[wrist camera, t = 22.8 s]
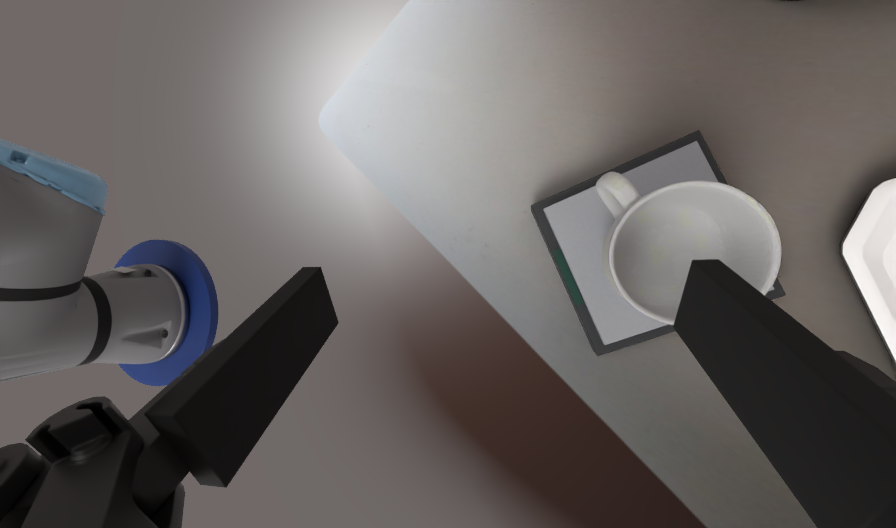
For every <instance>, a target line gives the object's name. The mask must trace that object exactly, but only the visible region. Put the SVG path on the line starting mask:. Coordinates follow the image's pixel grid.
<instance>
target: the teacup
mask: <svg viewBox="0 0 896 528" xmlns="http://www.w3.org/2000/svg"><path fill="white" fill-rule="evenodd" d="M596 190H597V193H598V195H599V196H600V198H601V199H602V201H603V202H604V204H605V205H606V206H607V208H608V209H609V210H610V212H611V213H612V215H613V217H614V218H615V221H614V223H613V224H612V225H611V227H610V229H609V230H608V232H607V234H606V237H605V240H604V243H603V248H602V263H603V268H604V271H605V274H606V277H607V279H608V280H609V282H610V284H611V285H612V287H613V288H614V289H615V291H616V292H617V293H618V294H619V295H620V296H621V297H622V298H623V299H625V300H626V301H627V302H628V303H629V304H630V305H631V306H633V307H634V308H635V309H637V310H638V311H640V312H641V313H643V314H644V315H646V316H648V317H650V318H652V319H654V320H657V321H659V322H662V323H666V324H670V325H674V321H675V318H676V314H677V311H678V307H679V304H680V300H681V297H682V293H683V290H684V286H685V283H686V280H687V276H688V273H689V269H690V266H691V262H692V260H705V259H719V260H720V261H722V262H723V263H724V264H725V265H727V266H728V267H729V268H730V269H732V270H733V271H734V272H735V273H737V274H738V275H739V276H741V277H742V278H743V279H744V280H746V281H747V282H748V283H749V284H751V285H752V286H753V287H754V288H756V289H757V290H758V291H759V292H761V293H762V294H763V295H766V293H767V292H768V291H769V289H770V288H771V287H772V285H773V284H774V281H775V279H776V277H777V274H778V271H779V268H780V264H781V255H782V254H781V241H780V237H779V233H778V230H777V228H776V225H775V223H774V221H773V219H772V218H771V216H770V215H769V214H768V212H767V211H766V210H765V208H764V207H763V206H762V205H761V204H760V203H759V202H758V201H756V200H755V199H754V198H753V197H751V196H748V195H747V194H746V193H744V192H742V191H741V190H739V189H737V188H734V187H732V186H729V185H726V184H723V183H720V182H712V181H704V180H692V181H683V182H677V183H673V184H670V185H667V186H664V187H661V188H659V189H657V190H655V191H653V192H651V193H649V194H647V195H645V196H644V197H641V195H640V194H639V192H638V191H637V189H636V188H635V187H634V185H633V184H632V183H631V182H630V181H629V180H628V179H627V178H625V177H624V176H623V175H621V174H619V173H616V172H608V173H606V174H604V175H603V176H602V177H601V178H600V179H599V180H598V181H597V183H596Z"/></svg>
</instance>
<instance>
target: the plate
mask: <svg viewBox="0 0 896 528" xmlns="http://www.w3.org/2000/svg"><path fill="white" fill-rule="evenodd" d="M840 256H841V258H842V260H843V262H844V264H845V266H846V268H847V270H848V272H849V274H850V276H851V278H852V280H853V282H854V284H855V286H856V288H857V290H858V292H859V294H860V296H861V298H862V300H863V302H864V304H865V306H866V308H867V310H868V312H869V314H870V316H871V318H872V320H873V322H874V324H875V326H876V328H877V330H878V332H879V334H880V336H881V339H882V341H883V343H884V345H885V347H886V349H887V351H888V353H889V355H890V357H891V359H892V361H893V363H894V365H895V367H896V177H895V178H892V179H890V180H887V181H884V182H881V183H879V184H878V185H877V186H876V187H874V188H873V189H872V190H870V192H869V193H868V195H867V197H866V199H865V201H864V202H863V204H862V206H861V208H860V210H859V211H858V213H857V215H856V217H855V218H854V220H853V222H852V224H851V226H850V227H849V229H848V231H847V233H846V235H845V236H844V238H843V240H842V242H841V243H840Z"/></svg>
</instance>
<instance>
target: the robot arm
mask: <svg viewBox="0 0 896 528" xmlns="http://www.w3.org/2000/svg"><path fill="white" fill-rule="evenodd" d="M107 193H108V187H107V185H106V184H105V182H104V180H103V179H102V178H100V177H99V176H98V175H96V174H94V173H92V172H90V171H87V170H85V169H82V168H80V167H77V166H75V165H72V164H70V163H67V162H64V161H62V160H59V159H56V158H53V157H51V156H48V155H45V154H42V153H39V152H36V151H34V150H31V149H28V148H25V147H22V146H19V145H16V144H13V143H10V142H8V141H5V140H2V139H0V382H4V381H8V380H13V379H18V378H23V377H27V376H32V375H37V374H42V373H46V372H51V371H55V370H60V369H65V368H69V367H74V366H79V365H84V364H89V363H118V364H146V363H153V362H157V361H161V360H164V359H167V358H168V357H170V356H172V355H173V354H174V353H175V352H176V351H177V350H178V349H179V348H180V346H181V345H182V343H183V341H184V339H185V337H186V334H187V331H188V328H189V323H190V303H189V298H188V294H187V291H186V289H185V286H184V285H183V283H182V281H181V280H180V278H179V277H178V276H177V275H176V274H175V273H174V272H173V271H172V270H171V269H169V268H167V267H165V266H163V265H159V264H139V265H132V266H128V267H118V268H114V269H110V270H112V271H108V272H105V273H100V274H97V275H92V276H86V277H85V276H84V273H85V270H86V267H87V264H88V260H89V257H90V254H91V251H92V248H93V245H94V242H95V239H96V236H97V232H98V229H99V226H100V223H101V220H102V217H103V216H104V215H105V211H104V206H105V202H106V197H107ZM337 324H338V320H337V317H336V313H335V310H334V307H333V304H332V301H331V298H330V295H329V291H328V288H327V285H326V282H325V279H324V276H323V273H322V270H321V267H303V268H302V269H301V270H300V271H298V272H297V273H296V274H295V275H294V276H293V277H292V278H291V279H290V280H289V281H288V282H286V283H285V284H284V285H283V286H282V287H281V288H280V289H279V290H278V291H277V292H276V293H274V294H273V295H272V296H271V297H270V298H269V299H268V300H267V301H266V302H265V303H264V304H263V305H261V306H260V307H259V308H258V309H257V310H256V311H255V312H254V313H253V314H252V315H251V316H250V317H248V318H247V319H246V320H245V321H244V322H243V323H242V324H241V325H240V326H239V327H238V328H236V329H235V330H234V331H233V332H232V333H231V334H230V335H229V336H228V337H227V338H226V339H224V340H222V341H220V342H219V343H217V344H216V345H214V346H213V347H211V348H209V349H207V350H206V351H205V352H204V353H203V354H202V355H201V356H200V357H198V358H197V359H196V360H195V361H194V362H193V363H192V366H188V367H187V368H186V369H185V370H184V371H183V372H182V373H181V374H180V377H176V378H175V379H174V380H173V381H172V382H171V383H169V384H168V385H167V386H166V387H165V388H164V389H163V390H162V391H161V392H160V393H159V394H157V395H156V396H155V397H154V398H153V399H152V400H151V401H149V402H148V403H147V404H146V405H145V406H144V407H143V408H142V409H141V410H140V411H138V412H137V413H136V414H135V415H134V416H133V417H132V418H131V419H130V420H127V419H126V418H125V417H124V416H123V414H122V413H121V412H120V411H119V410H118V409H117V407H116V406H115V405H114V404H113V403H112V401H111V400H110V399H108V398H106V397H92V398H89V399H86V400H83V401H79V402H77V403H75V404H73V405H70V406H68V407H66V408H64V409H62V410H61V411H59V412H57V413H56V414H54V415H52V416H51V417H49V418H48V419H47V420H45V421H44V422H43V423H42V424H40V425H39V426H38V427H36V428H35V429H34V430H33V431H32V433H31V434H30V435H29V436H28V437H27V438H26V439H25V440H26V441H27V442H28V443H29V444H31V445H32V446H33V447H34V448H35V449H36V450H37V451H38V452H40V453H41V454H42V455H41V456H39V455H38V454H37V453H36V452H35V451H34V450H33V449H31V448H30V447H29V446H28V445H25V444H23V443H18V444H12V445H7V446H5V447H2V448H0V528H181V526H182V516H183V507H184V497H185V492H184V486H183V485H182V484H181V483H180V482H181V481H182V480H183V479H184V477H185V476H186V475H187V474H188V472H189V471H190V472H191V473H192V475H193V476H194V477H195V478H196V480H197V481H198V482H199V483H200V485H208V486H218V487H227V486H228V484H229V483H230V481H231V480H232V478H233V477H234V475H235V474H236V472H237V471H238V469H239V468H240V466H241V465H242V463H243V462H244V461H245V459H246V457H247V456H248V455H249V453H250V452H251V450H252V449H253V447H254V446H255V444H256V443H257V442H258V440H259V438H260V437H261V436H262V434H263V433H264V431H265V430H266V428H267V427H268V425H269V424H270V423H271V421H272V420H273V418H274V416H275V415H276V414H277V412H278V410H279V409H280V408H281V406H282V405H283V403H284V402H285V400H286V399H287V398H288V396H289V394H290V393H291V392H292V390H293V389H294V387H295V386H296V384H297V383H298V381H299V380H300V379H301V377H302V376H303V374H304V373H305V371H306V370H307V368H308V367H309V365H310V364H311V362H312V361H313V359H314V358H315V357H316V355H317V353H318V352H319V351H320V349H321V348H322V346H323V345H324V343H325V342H326V340H327V339H328V337H329V336H330V335H331V333H332V332H333V330H334V329H335V327H336V326H337ZM673 327H674V329H675V330H676V332H677V333H678V334H679V336H680V337H681V339H682V340H683V341H684V343H685V344H686V345H687V347H688V348H689V350H690V351H691V352H692V354H693V355H694V357H695V358H696V359H697V361H698V362H699V364H700V365H701V366H702V368H703V369H704V370H705V372H706V373H707V375H708V376H709V377H710V379H711V380H712V382H713V383H714V384H715V386H716V387H717V389H718V390H719V391H720V393H721V394H722V395H723V397H724V398H725V400H726V401H727V402H728V404H729V405H730V407H731V408H732V409H733V411H734V412H735V414H736V415H737V416H738V418H739V419H740V420H741V422H742V423H743V425H744V426H745V427H746V429H747V430H748V432H749V433H750V434H751V436H752V437H753V439H754V440H755V441H756V443H757V444H758V445H759V447H760V448H761V450H762V451H763V452H764V454H765V455H766V457H767V458H768V459H769V461H770V462H771V464H772V465H773V466H774V468H775V469H776V471H777V472H778V473H779V475H780V476H781V477H782V479H783V480H784V482H785V483H786V484H787V486H788V487H789V489H790V490H791V491H792V493H793V494H794V496H795V497H796V498H797V500H798V501H799V502H800V504H801V505H802V507H803V508H804V509H805V511H806V512H807V514H808V515H809V516H810V518H811V519H812V521H813V522H814V523H815V525H816V526H817V527H818V528H896V382H895V381H894V380H892V379H891V378H890V377H888V376H887V375H886V374H884V373H883V372H882V371H880V370H879V369H878V368H876V367H874V366H872V365H870V364H868V363H866V362H864V361H862V360H861V359H859V358H857V357H855V356H853V355H851V354H849V353H847V352H845V351H834V350H833V349H832V348H830V347H829V346H828V345H827V344H825V343H824V342H823V341H821V340H820V339H819V338H818V337H816V336H815V335H814V334H813V333H811V332H810V331H809V330H808V329H806V328H805V327H804V326H802V325H801V324H800V323H799V322H797V321H796V320H795V319H794V318H792V317H791V316H790V315H789V314H787V313H786V312H785V311H784V310H782V309H781V308H780V307H778V306H777V305H776V304H775V303H773V302H772V301H771V300H770V299H768V298H767V297H766V296H765V295H763V294H762V293H761V292H759V291H758V290H757V289H756V288H754V287H753V286H752V285H751V284H749V283H748V282H747V281H746V280H744V279H743V278H742V277H741V276H739V275H738V274H737V273H735V272H734V271H733V270H732V269H730V268H729V267H728V266H727V265H725V264H724V263H723V262H722V261H720V260H719V259H705V260H692V262H691V266H690V269H689V273H688V276H687V280H686V283H685V286H684V290H683V293H682V297H681V300H680V304H679V307H678V311H677V314H676V318H675V321H674V325H673Z"/></svg>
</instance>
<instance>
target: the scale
mask: <svg viewBox="0 0 896 528" xmlns="http://www.w3.org/2000/svg"><path fill="white" fill-rule="evenodd" d="M608 172H616V173H619V174H621V175H623V176H624V177H625V178H627V179H628V180H629V181H630V182H631V183H632V184H633V185H634V187H635V188H636V189H637V191H638V192H639V194H640V195H641V197H644V196H645V195H647V194H649V193H651V192H653V191H655V190H657V189H659V188H661V187H664V186H667V185H670V184H673V183H677V182H683V181H692V180H704V181H712V182H720V183H723V184H726V185H728V184H727V182H726V180H725V178H724V177H723V175H722V173H721V171H720V169H719V167H718V165H717V163H716V161H715V159H714V158H713V156H712V154H711V152H710V150H709V148H708V146H707V144H706V142H705V141H704V139H703V137H702V135H701V133H700V131H699V130H698V131H696V132H694V133H691V134H689V135H687V136H685V137H682V138H680V139H678V140H676V141H674V142H671V143H669V144H667V145H665V146H662V147H660V148H658V149H656V150H654V151H651V152H649V153H647V154H645V155H642V156H640V157H638V158H636V159H634V160H631V161H629V162H627V163H625V164H622V165H620V166H618V167H616V168H613V169H611V170H609V171H607V172H605V173H602V174H600V175H598V176H596V177H593V178H591V179H589V180H587V181H585V182H582V183H580V184H578V185H576V186H573V187H571V188H569V189H567V190H565V191H562V192H560V193H558V194H556V195H553V196H551V197H549V198H547V199H545V200H542V201H540V202H538V203H536V204H533V205H531V211H532V213H533V216H534V218H535V220H536V222H537V225H538V227H539V229H540V232H541V234H542V236H543V238H544V241H545V243H546V245H547V247H548V250H549V252H550V254H551V256H552V259H553V261H554V263H555V265H556V268H557V270H558V272H559V274H560V277H561V279H562V281H563V283H564V286H565V288H566V290H567V293H568V295H569V297H570V299H571V302H572V304H573V306H574V308H575V311H576V313H577V315H578V317H579V320H580V322H581V324H582V326H583V329H584V331H585V333H586V335H587V338H588V340H589V342H590V344H591V347H592V349H593V351H594V352H595V353H596V355H597V356H599V355H602V354H606V353H609V352H612V351H615V350H618V349H621V348H624V347H627V346H630V345H633V344H636V343H640V342H643V341H646V340H649V339H652V338H655V337H658V336H661V335H664V334H667V333H670V332H673V331H676V330H675V329H674V327H673V325H670V324H666V323H662V322H659V321H657V320H654V319H652V318H650V317H648V316H646V315H644V314H643V313H641V312H640V311H638V310H637V309H635V308H634V307H633V306H631V305H630V304H629V303H628V302H627V301H626V300H625V299H623V298H622V297H621V296H620V295H619V294H618V293H617V292H616V291H615V289H614V288H613V287H612V285H611V284H610V282H609V280H608V279H607V277H606V274H605V271H604V268H603V263H602V248H603V243H604V240H605V237H606V234H607V232H608V230H609V229H610V227H611V225H612V224H613V223H614V221H615V218H614V217H613V215H612V213H611V212H610V210H609V209H608V208H607V206H606V205H605V204H604V202H603V201H602V199H601V198H600V196H599V195H598V193H597V190H596V183H597V181H598V180H599V179H600V178H601V177H602V176H603V175H604V174H606V173H608ZM785 295H786V294H785V292H784V290H783V288H782V287H781V285H780V283H779V281H778V279H777V277H776V279H775V281H774V284H773V285H772V287H771V288H770V289H769V291H768V292H767V293H766V295H765V296H766V297H767V298H768V299H770V300H772V299H775V298H779V297H782V296H785Z"/></svg>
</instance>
